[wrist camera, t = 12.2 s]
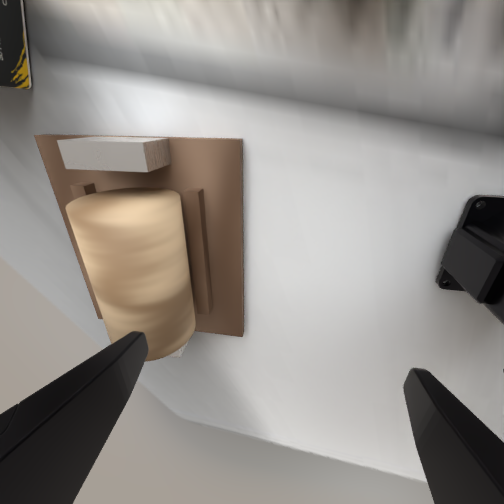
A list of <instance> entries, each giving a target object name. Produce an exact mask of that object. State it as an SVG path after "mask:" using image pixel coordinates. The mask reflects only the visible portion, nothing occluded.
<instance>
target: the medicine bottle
mask: <svg viewBox="0 0 504 504" xmlns="http://www.w3.org/2000/svg"><path fill="white" fill-rule="evenodd" d="M0 87H10V88H20V89H29V88H31V75H30V66H29V56H28V47H27V37H26V27H25V18H24V8H23V0H0Z"/></svg>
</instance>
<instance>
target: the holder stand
mask: <svg viewBox="0 0 504 504" xmlns="http://www.w3.org/2000/svg"><path fill="white" fill-rule="evenodd" d="M34 137H35V140H36V142H37V145H38V148H39V151H40V154H41V157H42V160H43V162H44V165H45V168H46V171H47V174H48V177H49V179H50V182H51V185H52V188H53V191H54V194H55V196H56V199H57V202H58V205H59V208H60V211H61V214H62V216H63V219H64V222H65V225H66V228H67V231H68V233H69V236H70V239H71V242H72V245H73V248H74V251H75V253H76V256H77V259H78V262H79V265H80V268H81V270H82V273H83V276H84V279H85V282H86V285H87V288H88V290H89V293H90V296H91V299H92V302H93V305H94V307H95V310H96V313H97V316H98V319H103V317H102V314H101V311H100V309H99V306H98V303H97V300H96V297H95V294H94V291H93V288H92V285H91V282H90V279H89V276H88V273H87V270H86V267H85V265H84V262H83V259H82V256H81V253H80V250H79V247H78V244H77V241H76V238H75V235H74V232H73V229H72V226H71V224H70V221H69V218H68V215H67V212H66V206H67V204H68V203H70V202H71V201H73V200H75V199H77V198H80V197H83V196H86V195H89V194H93V193H97V192H102V191H107V190H114V189H122V188H136V187H151V188H163V189H169V190H172V191H175V192H177V193H178V194H179V195H180V200H181V208H182V216H183V224H184V232H185V240H186V248H187V256H188V264H189V272H190V280H191V288H192V297H193V305H194V313H195V321H196V326H195V330H194V331H199V332H207V333H215V334H223V335H231V336H239V337H242V336H243V332H244V269H243V151H242V139H233V138H186V137H139V136H92V135H34ZM188 341H189V340H188ZM187 343H188V342H187ZM187 343H186V344H185V345H184V346H182V347H181V348H180V349H178V350H177V351H175V352H174V353H172V354H170V355H168V356H171V357H178V358H180V357H181V355H182V353H183V351H184V349H185V347H186V345H187Z"/></svg>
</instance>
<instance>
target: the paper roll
mask: <svg viewBox="0 0 504 504" xmlns="http://www.w3.org/2000/svg"><path fill="white" fill-rule="evenodd" d="M66 212H67V215H68V218H69V221H70V224H71V226H72V229H73V232H74V235H75V238H76V241H77V244H78V247H79V250H80V253H81V256H82V259H83V262H84V265H85V267H86V270H87V273H88V276H89V279H90V282H91V285H92V288H93V291H94V294H95V297H96V300H97V303H98V306H99V309H100V311H101V314H102V317H103V320H104V323H105V326H106V329H107V332H108V335H109V338H110V341H111V344H113V343H114V342H116V341H117V340H119V339H120V338H122V337H124V336H125V335H127V334H128V333H130V332H132V331H139V332H144V333H145V335H146V339H147V343H148V347H149V351H148V355H147V358H146V360H145V361H152V360H156V359H160V358H163V357H166V356H168V355H170V354H172V353H174V352H175V351H177V350H178V349H180V348H181V347H182V346H184V345H185V344H186V343H187V342H188V340H189V339H190V338H191V336H192V335H193V333H194V330H195V326H196V321H195V313H194V305H193V297H192V288H191V280H190V272H189V264H188V256H187V248H186V240H185V232H184V224H183V216H182V208H181V200H180V195H179V194H178V193H177V192H175V191H172V190H169V189H163V188H151V187H136V188H122V189H114V190H107V191H102V192H97V193H93V194H89V195H86V196H83V197H80V198H77V199H75V200H73V201H71V202H70V203H68V204H67V206H66Z"/></svg>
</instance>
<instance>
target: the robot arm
mask: <svg viewBox="0 0 504 504" xmlns="http://www.w3.org/2000/svg"><path fill="white" fill-rule="evenodd" d="M480 201H482V203H481V205H480V206H478V207H476V204H477V203H478V202H480ZM441 265H442V266H441V269H440V271H439V274H438V276H437V279H436V283H437V285H438V286H439V287H440V288H441V289H447V290H458V291H467V292H468V293H469V294H470V295H471V296H472V297H473V299H474V300H475V301H476V302H477V303H479V304H484V305H485V306H486V307H487V308H488V309H489V310H490V311H491V312H492V313H493V314H494V315H495V316H496V317H497V318H498V319H499V320H500V321H501V322H502V323H503V325H504V196H493V195H476V196H474V197H472V198H471V199H470V200H469V201H468V203H467V205H466V207H465V210H464V212H463V215H462V217H461V220H460V222H459V225H458V227H457V229H456V230H455V231H454V232H453V235H452V237H451V240H450V242H449V245H448V247H447V250H446V252H445V255H444V257H443V259H442V262H441ZM446 280H448V281H447V282H446V283H443V282H444V281H446ZM148 351H149V347H148V343H147V339H146V335H145V333H144V332H139V331H132V332H130V333H128V334H127V335H125V336H124V337H122V338H120V339H119V340H117V341H116V342H114V343H113V344H111V345H109V346H108V347H106V348H105V349H103V350H101V351H100V352H98V353H97V354H95V355H94V356H92V357H90V358H89V359H87V360H86V361H84V362H83V363H81V364H79V365H78V366H76V367H75V368H73V369H71V370H70V371H68V372H67V373H65V374H64V375H62V376H60V377H59V378H57V379H56V380H54V381H53V382H51V383H50V384H48V385H46V386H45V387H43V388H41V389H40V390H39V391H37V392H35V393H33V394H32V395H30V396H29V397H27V398H26V399H24V400H22V401H21V402H20V403H19V404H16V405H14V406H13V407H11V408H10V409H8V410H6V411H5V412H3V413H2V414H0V504H73V502H74V500H75V498H76V496H77V494H78V493H79V491H80V489H81V487H82V485H83V483H84V481H85V479H86V478H87V476H88V474H89V472H90V470H91V468H92V466H93V465H94V463H95V461H96V459H97V457H98V455H99V453H100V451H101V450H102V448H103V446H104V444H105V442H106V440H107V439H108V437H109V435H110V433H111V431H112V429H113V427H114V426H115V424H116V422H117V420H118V418H119V416H120V414H121V412H122V411H123V409H124V407H125V405H126V403H127V401H128V399H129V397H130V395H131V393H132V391H133V389H134V386H135V384H136V381H137V379H138V377H139V374H140V372H141V369H142V367H143V365H144V362H145V360H146V358H147V355H148ZM503 371H504V369H503ZM403 389H404V395H405V400H406V404H407V409H408V413H409V418H410V422H411V427H412V431H413V436H414V440H415V444H416V448H417V451H418V454H419V457H420V460H421V463H422V467H423V470H424V473H425V476H426V479H427V482H428V485H429V488H430V491H431V494H432V497H433V500H434V503H435V504H504V442H503V441H502V440H500V439H499V438H498V437H497V436H496V435H495V434H494V433H493V432H492V431H491V430H490V429H489V428H488V427H487V426H486V425H485V424H484V423H483V422H482V421H480V420H479V419H478V418H477V417H476V416H475V415H474V414H473V413H472V412H471V411H470V410H469V409H468V408H467V407H466V406H465V405H464V404H463V403H462V402H460V401H459V400H458V399H457V398H456V397H455V396H454V395H453V394H452V393H451V392H450V391H449V390H448V389H447V388H446V387H445V386H444V385H443V384H442V383H440V382H439V381H438V380H437V379H436V378H435V377H434V376H433V375H432V374H431V373H430V372H429V371H427V370H426V369H420V368H411V369H410V371H409V373H408V376H407V378H406V380H405V382H404V387H403Z"/></svg>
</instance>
